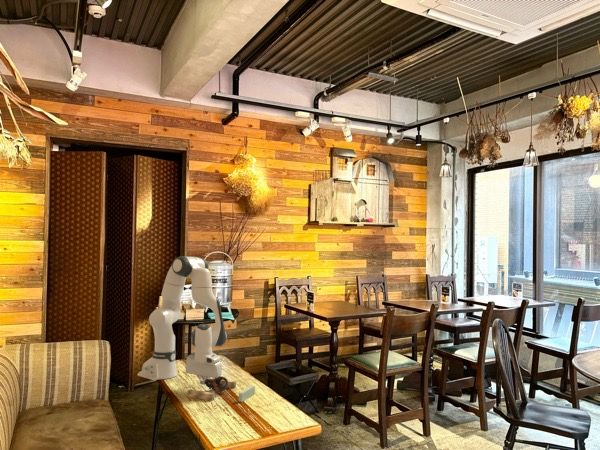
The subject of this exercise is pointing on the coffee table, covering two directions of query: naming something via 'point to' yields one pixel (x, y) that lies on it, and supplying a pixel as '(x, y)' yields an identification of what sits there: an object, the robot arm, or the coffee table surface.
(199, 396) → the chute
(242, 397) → the block
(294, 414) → the coffee table surface
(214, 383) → the broken brown clay pot
